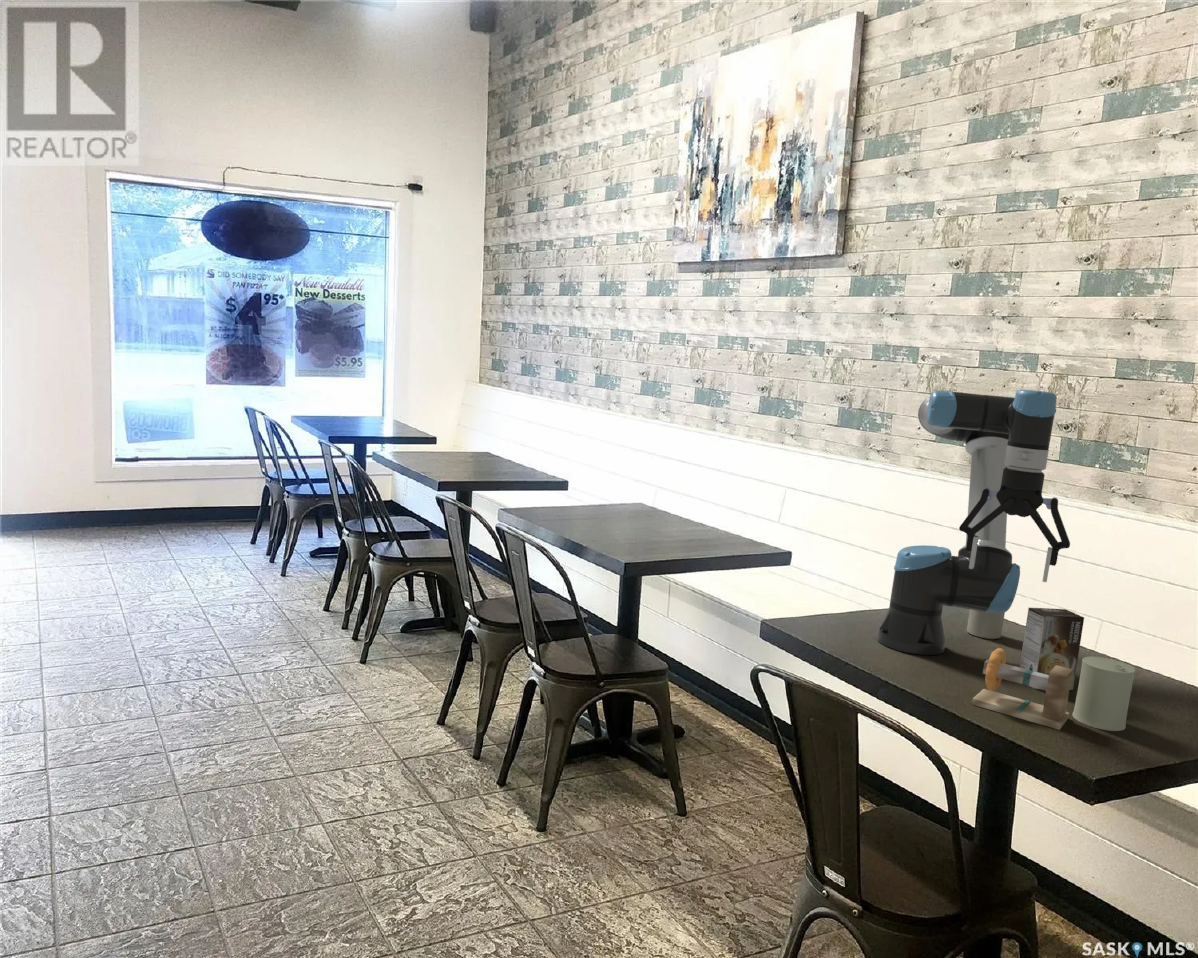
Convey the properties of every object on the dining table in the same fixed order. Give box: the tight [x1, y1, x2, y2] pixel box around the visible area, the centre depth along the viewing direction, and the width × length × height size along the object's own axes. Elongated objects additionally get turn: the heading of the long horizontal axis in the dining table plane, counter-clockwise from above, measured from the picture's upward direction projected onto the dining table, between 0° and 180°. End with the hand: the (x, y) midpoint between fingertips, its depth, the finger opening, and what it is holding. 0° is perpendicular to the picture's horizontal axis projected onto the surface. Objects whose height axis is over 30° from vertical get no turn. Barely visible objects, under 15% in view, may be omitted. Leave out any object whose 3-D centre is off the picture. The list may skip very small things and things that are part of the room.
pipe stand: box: [971, 658, 1073, 731], centre depth 185 cm, size 16×8×10 cm, turn 53°
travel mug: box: [966, 609, 1006, 640], centre depth 236 cm, size 8×8×18 cm
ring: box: [984, 647, 1007, 691], centre depth 187 cm, size 2×8×8 cm, turn 143°
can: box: [1072, 655, 1137, 732], centre depth 183 cm, size 9×9×12 cm
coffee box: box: [1019, 607, 1085, 691], centre depth 202 cm, size 9×6×16 cm
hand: (1007, 574), depth 190 cm, fingers open, 13 cm apart
